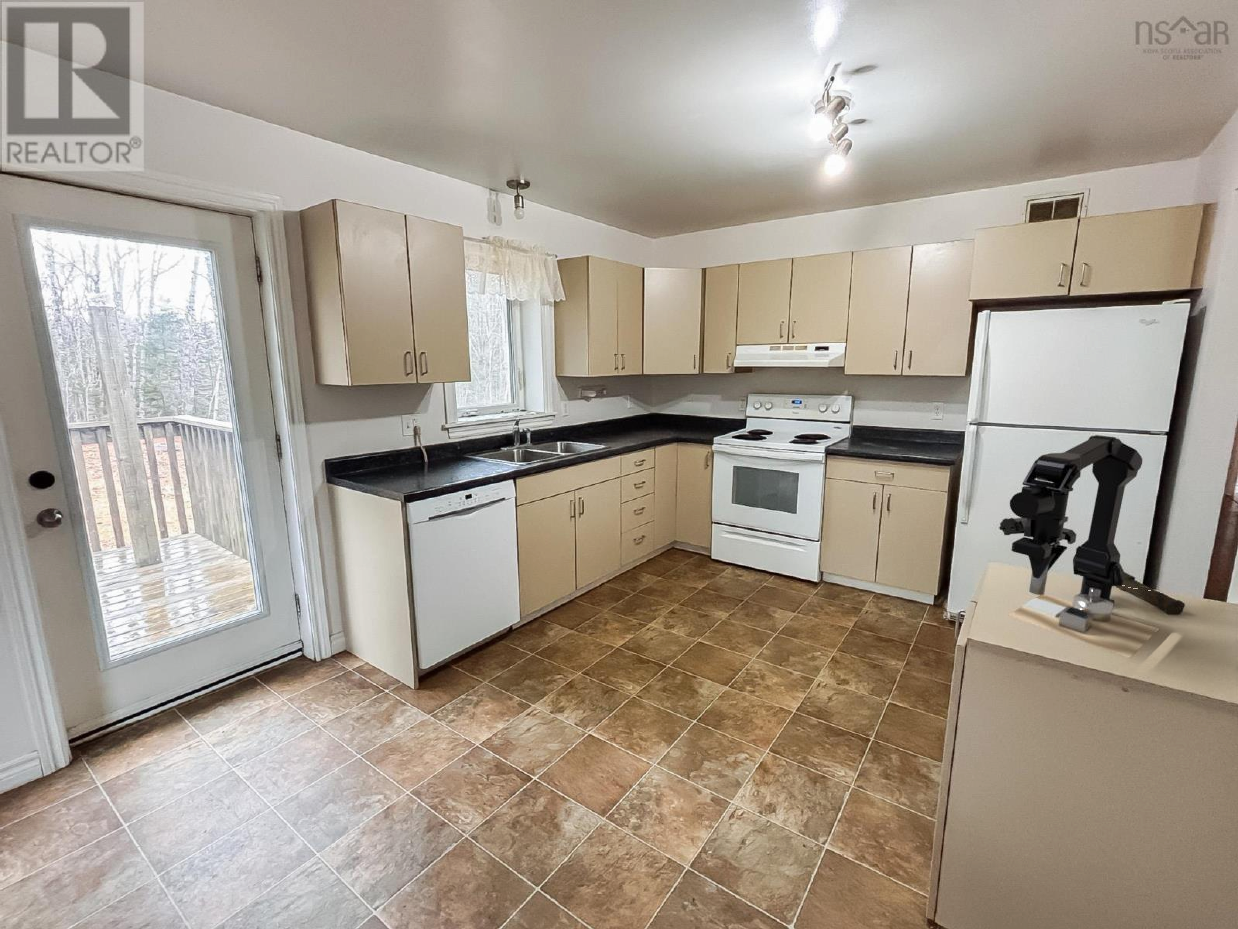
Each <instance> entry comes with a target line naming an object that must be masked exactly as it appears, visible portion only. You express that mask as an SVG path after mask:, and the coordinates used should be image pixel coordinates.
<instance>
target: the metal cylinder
mask: <svg viewBox="0 0 1238 929" xmlns="http://www.w3.org/2000/svg"><path fill="white" fill-rule="evenodd" d="M1048 567H1049V565H1048V566H1047V568H1046V569H1045V571H1044V572H1043V574H1042V575H1041V577H1040V578H1035V577H1033V573H1032V572H1031V577H1030V584H1029V590H1028V591H1029V593H1031V594H1034V595H1037V596H1040V595H1044V594H1045V592H1046V584H1047V578H1048V573H1049V571H1048Z"/></svg>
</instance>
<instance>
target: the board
mask: <svg viewBox="0 0 1238 929" xmlns="http://www.w3.org/2000/svg"><path fill="white" fill-rule="evenodd" d="M1036 598H1037V599H1040V600H1043V601H1047V602H1050V603H1053V604H1056V605H1060V606H1063V607H1068V606H1071V607H1072V606H1073V602H1072V601H1069V600H1065V599H1062V598H1058V597H1055V596H1052V595H1049V594H1045V593H1044V595H1037V597H1036ZM1007 616H1008V617H1011V618H1014V619H1016V620H1018V621H1019V620H1020V621H1023V622H1024V623H1025V622H1026V623H1028V624H1031V625H1034V626H1037V627H1040V628H1043V629H1045V630H1049V631H1051V632H1054V633H1057V634H1059V635H1063V636H1066V637H1068V638H1071V639H1074V640H1077V641H1080V642H1082V643H1083V642H1084V643H1086V644H1088V645H1092V646H1095V647H1096V648H1101V649H1103V650H1105V651H1109V652H1111V653H1114V654H1118V655H1120V656H1123V657H1126V658H1132V657H1133V655H1135V654H1136V653H1137V651H1138V650H1139V649H1141V647H1142V646H1144V644H1146V643H1147V642H1148V641H1149V640H1150V639H1151V638H1152V637H1153V635H1155V634H1156V633H1157V632H1158V631H1159V630H1160V628H1158V627H1154V626H1151V625H1147V624H1144V623H1142V622H1141V623H1140V622H1138V621H1135V620H1132V619H1129V618H1128V619H1127V618H1124V617H1121V616H1117V615H1115V614H1111V620H1109V621H1106V622H1100V621H1092V626H1091V628H1090V629H1089V630H1088V631H1087V632H1085V633H1084V634H1082V633H1079V632H1076V631H1073V630H1070V629H1068V628H1065V627H1062V626H1059V619H1060V614H1059V615H1058V616H1056V617H1053V616H1050V615H1047V614H1043V613H1040V612H1037V611H1034V610H1031V609H1028V608H1025V607H1024V605H1022V606H1020V607H1019V608H1018V609H1016V610H1014V611H1012V612H1011V613H1010V614H1008V615H1007Z"/></svg>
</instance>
